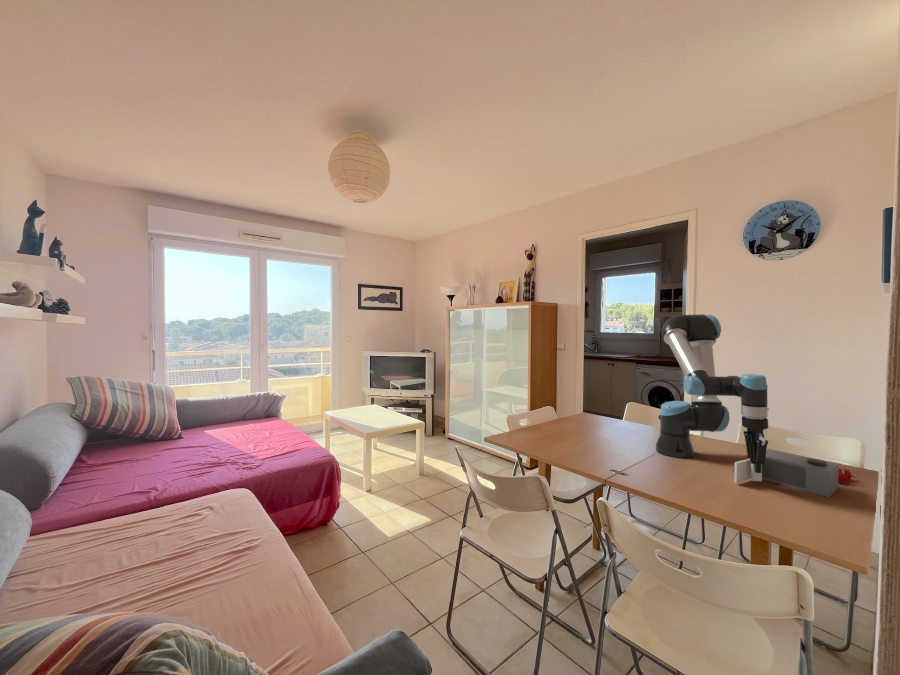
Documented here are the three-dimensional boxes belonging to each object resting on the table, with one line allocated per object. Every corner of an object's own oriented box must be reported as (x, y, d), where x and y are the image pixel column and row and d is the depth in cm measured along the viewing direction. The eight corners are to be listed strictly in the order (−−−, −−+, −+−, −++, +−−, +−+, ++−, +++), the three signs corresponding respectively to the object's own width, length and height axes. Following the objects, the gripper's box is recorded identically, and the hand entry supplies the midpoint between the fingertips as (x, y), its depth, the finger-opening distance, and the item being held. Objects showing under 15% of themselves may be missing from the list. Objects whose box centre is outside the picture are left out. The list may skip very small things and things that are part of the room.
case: (756, 477, 144) (757, 452, 144) (767, 470, 151) (768, 446, 151) (829, 497, 128) (830, 468, 127) (838, 488, 134) (838, 461, 134)
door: (752, 475, 145) (753, 454, 145) (759, 477, 143) (759, 456, 143) (730, 481, 140) (731, 459, 140) (736, 484, 138) (737, 461, 138)
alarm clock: (808, 460, 153) (860, 463, 140) (812, 475, 152) (864, 480, 139) (797, 464, 148) (850, 468, 135) (801, 481, 147) (855, 487, 134)
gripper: (776, 421, 130) (778, 488, 131) (758, 413, 143) (760, 474, 143) (750, 420, 132) (752, 486, 133) (734, 412, 145) (737, 472, 145)
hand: (756, 480), depth 138 cm, fingers closed
